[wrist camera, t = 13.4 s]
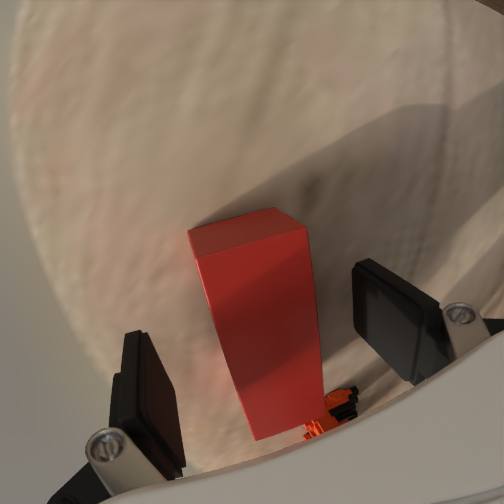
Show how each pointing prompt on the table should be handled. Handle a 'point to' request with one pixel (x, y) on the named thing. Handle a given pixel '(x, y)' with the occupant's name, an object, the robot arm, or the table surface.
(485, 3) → the cabinet
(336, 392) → the toy animal
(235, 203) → the table surface
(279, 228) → the red rectangular block
